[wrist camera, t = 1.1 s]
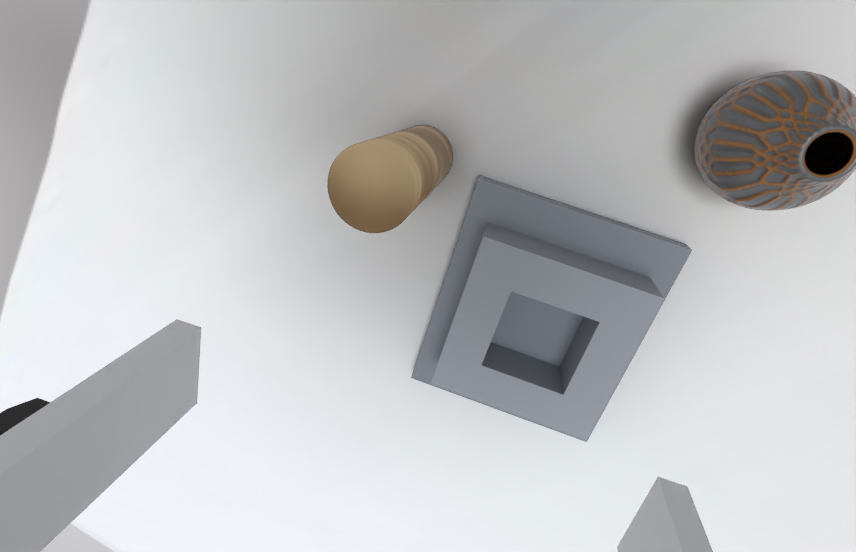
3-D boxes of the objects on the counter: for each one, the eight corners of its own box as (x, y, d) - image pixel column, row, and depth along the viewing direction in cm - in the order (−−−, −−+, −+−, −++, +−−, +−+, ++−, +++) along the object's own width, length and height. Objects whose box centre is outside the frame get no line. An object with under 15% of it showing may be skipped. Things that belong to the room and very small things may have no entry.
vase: (715, 58, 27) (795, 43, 19) (837, 94, 27) (971, 94, 19) (659, 175, 30) (709, 205, 22) (769, 210, 30) (861, 253, 22)
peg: (402, 117, 32) (338, 129, 21) (460, 136, 31) (426, 159, 20) (387, 175, 33) (319, 216, 22) (442, 194, 33) (401, 244, 22)
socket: (479, 175, 32) (473, 188, 28) (685, 244, 31) (712, 268, 27) (414, 369, 38) (400, 404, 34) (584, 431, 37) (592, 475, 33)
